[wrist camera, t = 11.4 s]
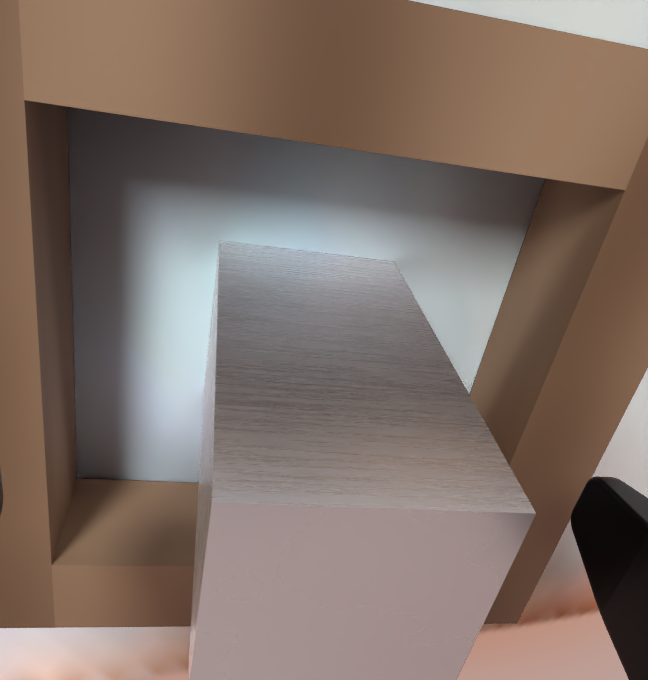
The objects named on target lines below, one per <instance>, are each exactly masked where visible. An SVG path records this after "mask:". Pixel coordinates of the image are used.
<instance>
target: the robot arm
mask: <svg viewBox="0 0 648 680" xmlns="http://www.w3.org/2000/svg"><path fill="white" fill-rule="evenodd" d="M2 507H3V487H2V478H1V468H0V516H1V512H2ZM571 526H572V530H573V533H574V536H575V539H576V542H577V545H578V548H579V551H580V554H581V557H582V560H583V563H584V566H585V569H586V572H587V575H588V578H589V582H590V585H591V588H592V591H593V594H594V597H595V600H596V602H597V605H598V608H599V611H600V614H601V616H602V619H603V621H604V623H605V626H606V628H607V630H608V633H609V635H610V637H611V640H612V642H613V644H614V647H615V649H616V651H617V653H618V656H619V658H620V660H621V663H622V665H623V667H624V669H625V672H626V674H627V676H628V679H629V680H648V498H647V497H645V496H644V495H642V494H641V493H639V492H638V491H636V490H635V489H633V488H632V487H630V486H629V485H627V484H625V483H624V482H622V481H621V480H619V479H617V478H613V477H592V478H591V479H590V480H588V481H587V483H586V485H585V487H584V489H583V491H582V493H581V495H580V496H579V498H578V500H577V502H576V504H575V506H574V508H573V510H572V513H571Z"/></svg>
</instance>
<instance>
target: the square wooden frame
mask: <svg viewBox="0 0 648 680" xmlns="http://www.w3.org/2000/svg"><path fill="white" fill-rule="evenodd" d="M67 107H74V108H80V109H87V110H94V111H100V112H107V113H114V114H120V115H127V116H134V117H140V118H147V119H154V120H160V121H167V122H174V123H180V124H187V125H194V126H200V127H207V128H214V129H220V130H227V131H233V132H240V133H247V134H253V135H260V136H267V137H273V138H280V139H287V140H293V141H300V142H307V143H313V144H320V145H327V146H333V147H340V148H347V149H353V150H360V151H367V152H373V153H380V154H387V155H393V156H400V157H407V158H413V159H420V160H427V161H433V162H440V163H447V164H453V165H460V166H467V167H473V168H480V169H487V170H493V171H500V172H507V173H513V174H520V175H527V176H533V177H540V178H546V180H545V182H544V185H543V188H542V191H541V194H540V196H539V199H538V202H537V205H536V208H535V211H534V213H533V216H532V219H531V222H530V225H529V228H528V230H527V233H526V236H525V239H524V242H523V245H522V247H521V250H520V253H519V256H518V259H517V262H516V264H515V267H514V270H513V273H512V276H511V278H510V281H509V284H508V287H507V290H506V293H505V295H504V298H503V301H502V304H501V307H500V310H499V312H498V315H497V318H496V321H495V324H494V327H493V329H492V332H491V335H490V338H489V341H488V344H487V346H486V349H485V352H484V355H483V358H482V361H481V363H480V366H479V369H478V372H477V375H476V377H475V380H474V383H473V386H472V389H471V392H470V394H469V395H470V397H471V399H472V400H473V402H474V404H475V406H476V408H477V409H478V411H479V413H480V415H481V416H482V418H483V420H484V422H485V423H486V425H487V427H488V429H489V431H490V432H491V434H492V436H493V438H494V439H495V441H496V443H497V445H498V447H499V448H500V450H501V452H502V454H503V455H504V457H505V459H506V461H507V462H508V464H509V466H510V468H511V470H512V471H513V473H514V475H515V477H516V478H517V480H518V482H519V484H520V486H521V487H522V489H523V491H524V493H525V494H526V496H527V498H528V500H529V501H530V503H531V505H532V507H533V509H534V510H535V512H536V515H535V517H534V519H533V521H532V523H531V526H530V528H529V530H528V532H527V534H526V536H525V538H524V540H523V542H522V544H521V546H520V548H519V551H518V553H517V555H516V557H515V559H514V561H513V563H512V565H511V567H510V569H509V571H508V573H507V576H506V578H505V580H504V582H503V584H502V586H501V588H500V590H499V592H498V594H497V596H496V598H495V601H494V603H493V605H492V607H491V609H490V611H489V613H488V615H487V617H486V619H485V621H484V623H483V624H493V623H517V622H518V620H519V618H520V616H521V614H522V612H523V610H524V608H525V606H526V604H527V602H528V600H529V598H530V596H531V595H532V593H533V591H534V589H535V587H536V585H537V583H538V581H539V579H540V577H541V575H542V573H543V571H544V569H545V567H546V565H547V563H548V561H549V559H550V557H551V555H552V554H553V552H554V550H555V548H556V546H557V544H558V542H559V540H560V538H561V536H562V534H563V532H564V530H565V528H566V526H567V524H568V522H569V520H570V518H571V513H572V510H573V508H574V506H575V504H576V502H577V500H578V498H579V496H580V495H581V493H582V491H583V489H584V487H585V485H586V483H587V481H588V480H590V479H591V477H592V475H593V473H594V471H595V470H596V468H597V466H598V464H599V462H600V460H601V458H602V456H603V454H604V452H605V450H606V448H607V446H608V444H609V442H610V440H611V438H612V436H613V434H614V432H615V430H616V428H617V427H618V425H619V423H620V421H621V419H622V417H623V415H624V413H625V411H626V409H627V407H628V405H629V403H630V401H631V399H632V397H633V395H634V393H635V391H636V389H637V387H638V386H639V384H640V382H641V380H642V378H643V376H644V374H645V372H646V370H647V368H648V49H644V48H640V47H635V46H630V45H625V44H620V43H615V42H610V41H605V40H600V39H595V38H590V37H586V36H581V35H576V34H571V33H566V32H561V31H556V30H551V29H546V28H541V27H537V26H532V25H527V24H522V23H517V22H512V21H507V20H502V19H497V18H492V17H487V16H483V15H478V14H473V13H468V12H463V11H458V10H453V9H448V8H443V7H438V6H433V5H429V4H424V3H419V2H414V1H409V0H0V468H1V478H2V487H3V507H2V512H1V516H0V628H55V627H164V626H191V614H192V596H193V578H194V560H195V542H196V524H197V506H198V488H199V483H187V482H159V481H132V480H105V479H77V460H76V422H75V385H74V347H73V309H72V272H71V234H70V196H69V159H68V121H67Z"/></svg>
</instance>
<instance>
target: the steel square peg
mask: <svg viewBox="0 0 648 680" xmlns="http://www.w3.org/2000/svg"><path fill="white" fill-rule="evenodd" d="M535 515H536V512H535V510H534V509H533V507H532V505H531V503H530V501H529V500H528V498H527V496H526V494H525V493H524V491H523V489H522V487H521V486H520V484H519V482H518V480H517V478H516V477H515V475H514V473H513V471H512V470H511V468H510V466H509V464H508V462H507V461H506V459H505V457H504V455H503V454H502V452H501V450H500V448H499V447H498V445H497V443H496V441H495V439H494V438H493V436H492V434H491V432H490V431H489V429H488V427H487V425H486V423H485V422H484V420H483V418H482V416H481V415H480V413H479V411H478V409H477V408H476V406H475V404H474V402H473V400H472V399H471V397H470V395H469V393H468V392H467V390H466V388H465V386H464V384H463V383H462V381H461V379H460V377H459V376H458V374H457V372H456V370H455V368H454V367H453V365H452V363H451V361H450V360H449V358H448V356H447V354H446V353H445V351H444V349H443V347H442V345H441V344H440V342H439V340H438V338H437V337H436V335H435V333H434V331H433V329H432V328H431V326H430V324H429V322H428V321H427V319H426V317H425V315H424V314H423V312H422V310H421V308H420V306H419V305H418V303H417V301H416V299H415V298H414V296H413V294H412V292H411V290H410V289H409V287H408V285H407V283H406V282H405V280H404V278H403V276H402V275H401V273H400V271H399V269H398V267H397V266H396V264H395V262H393V261H385V260H376V259H368V258H360V257H351V256H343V255H334V254H326V253H318V252H309V251H301V250H292V249H284V248H276V247H267V246H259V245H251V244H242V243H234V242H225V241H219V250H218V260H217V269H216V279H215V289H214V298H213V308H212V317H211V327H210V336H209V346H208V356H207V365H206V375H205V384H204V397H203V415H202V433H201V451H200V470H199V488H198V506H197V524H196V542H195V560H194V578H193V596H192V614H191V633H190V651H189V669H188V680H456V679H457V678H458V675H459V673H460V671H461V669H462V667H463V665H464V663H465V661H466V659H467V657H468V655H469V653H470V650H471V648H472V646H473V644H474V642H475V640H476V638H477V636H478V634H479V632H480V630H481V628H482V626H483V623H484V621H485V619H486V617H487V615H488V613H489V611H490V609H491V607H492V605H493V603H494V601H495V598H496V596H497V594H498V592H499V590H500V588H501V586H502V584H503V582H504V580H505V578H506V576H507V573H508V571H509V569H510V567H511V565H512V563H513V561H514V559H515V557H516V555H517V553H518V551H519V548H520V546H521V544H522V542H523V540H524V538H525V536H526V534H527V532H528V530H529V528H530V526H531V523H532V521H533V519H534V517H535Z"/></svg>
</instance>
